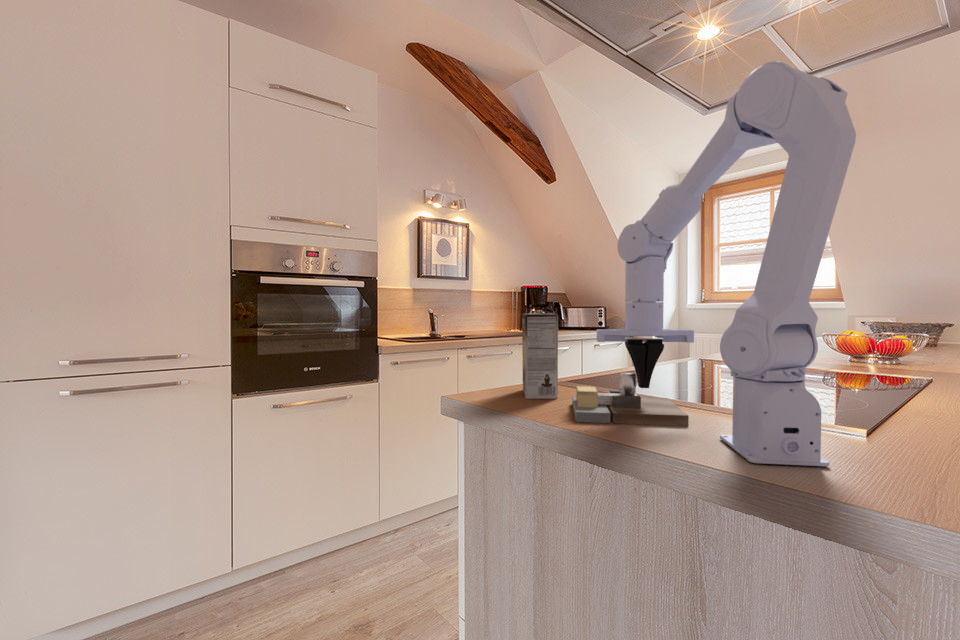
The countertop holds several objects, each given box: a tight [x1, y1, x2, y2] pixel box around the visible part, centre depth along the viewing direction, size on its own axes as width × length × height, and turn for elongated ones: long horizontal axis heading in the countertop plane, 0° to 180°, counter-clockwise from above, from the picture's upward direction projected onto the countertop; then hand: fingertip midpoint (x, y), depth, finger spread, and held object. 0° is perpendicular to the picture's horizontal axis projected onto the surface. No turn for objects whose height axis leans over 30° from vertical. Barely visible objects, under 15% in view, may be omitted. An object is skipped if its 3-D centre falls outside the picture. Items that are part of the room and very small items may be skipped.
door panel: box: [606, 389, 690, 427], centre depth 71 cm, size 12×11×3 cm
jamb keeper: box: [571, 384, 611, 424], centre depth 72 cm, size 12×5×4 cm, turn 171°
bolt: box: [598, 372, 639, 405], centre depth 72 cm, size 2×9×5 cm, turn 81°
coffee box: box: [521, 312, 559, 400], centre depth 87 cm, size 9×6×16 cm
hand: (643, 387), depth 71 cm, fingers closed
